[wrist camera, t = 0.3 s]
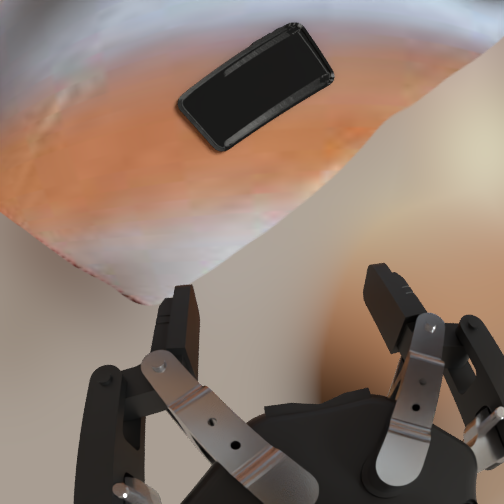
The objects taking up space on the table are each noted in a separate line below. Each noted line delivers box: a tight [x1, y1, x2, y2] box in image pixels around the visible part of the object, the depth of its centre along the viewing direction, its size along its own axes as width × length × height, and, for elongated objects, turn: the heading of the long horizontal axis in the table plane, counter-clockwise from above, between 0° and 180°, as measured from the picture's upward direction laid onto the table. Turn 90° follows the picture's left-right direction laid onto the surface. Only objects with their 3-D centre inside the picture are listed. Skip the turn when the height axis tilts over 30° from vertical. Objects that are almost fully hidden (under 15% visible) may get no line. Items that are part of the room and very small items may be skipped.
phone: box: [178, 23, 334, 151], centre depth 27 cm, size 8×1×15 cm
